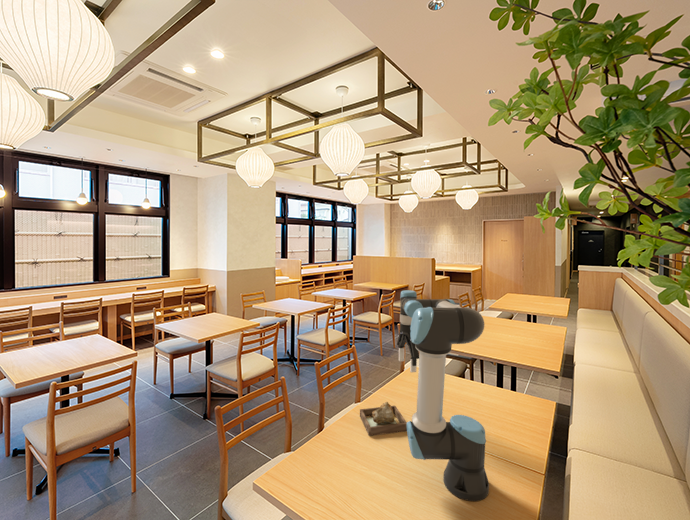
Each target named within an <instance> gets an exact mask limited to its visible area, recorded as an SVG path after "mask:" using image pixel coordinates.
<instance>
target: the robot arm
mask: <svg viewBox="0 0 690 520" xmlns="http://www.w3.org/2000/svg"><path fill="white" fill-rule="evenodd" d="M399 301H400V304H399V305H400V311H399V335H398V336H397V337H398V339H397V341H396V346H397V347H398V362H405V345H407V346H408V350H409V354H410V368H409V369H410V373H417V367H418V375H417V376H418V377H417V395H416V396H417V397H416V398H417V399H416V411H415V412H414V413H413V414H412V416H411V420H408V421H406V422H407V431H406V432H407V433H406V434H407V439H408V446H409V450H410V451H409V452H410V454H411V456H412V457H413V458H414V459H416V460H423V461H426V460H443V461H444V460H446V461H447V460H448V462H447V464H446V466H445V468H444V471H443V483H444V485H445V488H446V489H447V490H448V491H449V492H450V493H451V494H453V495H454V496H455V497H457V498H460V499H462V500H464V501H467V502H478V501H482V500H485V499H486V498H487V497H488V495H489V493H490V481H489V479H488V476H487V472H486V469H485V462H486V461H485V460H486V459H485V457H486V442H487V440H486V429H485V427H484V425H482V423H481V422H479V421H478V420H477V419H475V418H473V417H470V416H468V415H464V414H455V415H452V416H451V417H450V419H449V421H446V418H444V416H443V411H444V409H443V408H444V407H443V406H444V392H445V391H444V390H445V380H446V379H445V376H446V375H445V374H446V362H447V355H449V354H450V353H451V352H452V345H464V344H469V343H472V342H474V341H476V340H478V339H479V338H480V337H481V335H482V334H483V332H484V330H485V320H484V318H483V316H482V314H481V313H480V312H479V311H477V310H475V309H474V308H471V307H467V306H466V307H461V306H459V305H457V304H456V302H455V300H453V299H448V298H444V299H442V298H441V299H440V298H439V299H436V298H435V299H433V298H432V299H430V298H428V299H427V298H426V299H425V298H423V299H421V298H419V299H418V296H417V292H416V291H415V290H411V289H409V290H408V289H407V290H401V291H400V297H399ZM417 361H418V366H417Z"/></svg>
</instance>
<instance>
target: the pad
mask: <svg viewBox="0 0 690 520" xmlns="http://www.w3.org/2000/svg"><path fill="white" fill-rule="evenodd" d="M366 419H367V421H368V423H369V425H370V427H373V426H381V425H390V424H398V422H397V420H396V418H395V419H394V422H392V423H390V422H384V423H380V424H377V423H376V422H374V421H373V416H369V417H366Z"/></svg>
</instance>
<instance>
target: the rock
mask: <svg viewBox="0 0 690 520" xmlns="http://www.w3.org/2000/svg"><path fill="white" fill-rule="evenodd" d="M391 406H392V405H391V404H390V402H388V401H385V402H383V403H382V404H381V405H380V409H377V410H376V411H373V412H372V415H373V416H372V417H373V421H374V422H376V423H377V424H380V423H384V422H390V423H392V422H394V419H395V420H396V416H395V415H394V413H393V409H392V408H391Z"/></svg>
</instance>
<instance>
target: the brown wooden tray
mask: <svg viewBox="0 0 690 520" xmlns="http://www.w3.org/2000/svg"><path fill="white" fill-rule="evenodd" d="M391 408H392V409H393V413H394V416H395V419H397V421H398V422H397V424H390V425H381V426H373V427H370V425H369V423H368V421H367V419H366V418H369V417H373V415H372V412H373V411H376V410H377V409H380V407H370V408H359V417H360V420H361V421H362V424H363V427H364V428H365V431H366V433H367V435H368V437H371V436H379V435H386V434H387V435H388V434H396V433H403V432H404V433H405V432H407V422H408V421H406V419H405V417H404V416H403V415H402V413H401V412H400V411H399V409H398V408H397V406H396V405H391Z"/></svg>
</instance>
